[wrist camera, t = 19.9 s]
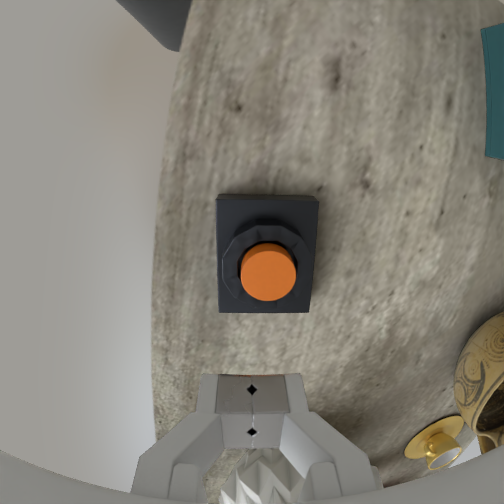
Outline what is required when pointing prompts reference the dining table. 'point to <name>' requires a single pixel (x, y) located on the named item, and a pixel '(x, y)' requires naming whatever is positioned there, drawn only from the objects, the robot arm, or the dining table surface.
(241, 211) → the push button housing
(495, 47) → the teal hollow open box
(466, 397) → the ceramic bowl
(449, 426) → the cup
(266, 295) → the flush button
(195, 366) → the dining table surface
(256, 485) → the vase
